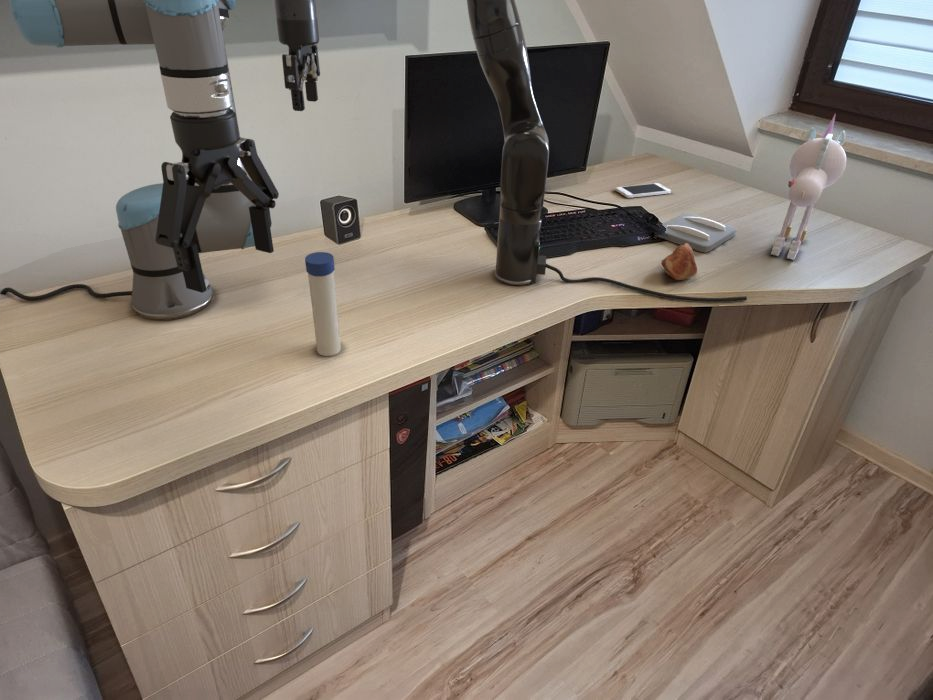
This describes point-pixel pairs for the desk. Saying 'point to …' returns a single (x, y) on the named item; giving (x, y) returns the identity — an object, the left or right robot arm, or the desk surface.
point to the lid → (319, 263)
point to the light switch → (697, 232)
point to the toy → (811, 180)
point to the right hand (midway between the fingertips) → (306, 105)
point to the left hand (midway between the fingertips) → (232, 269)
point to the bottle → (325, 314)
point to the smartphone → (642, 190)
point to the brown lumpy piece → (680, 263)
